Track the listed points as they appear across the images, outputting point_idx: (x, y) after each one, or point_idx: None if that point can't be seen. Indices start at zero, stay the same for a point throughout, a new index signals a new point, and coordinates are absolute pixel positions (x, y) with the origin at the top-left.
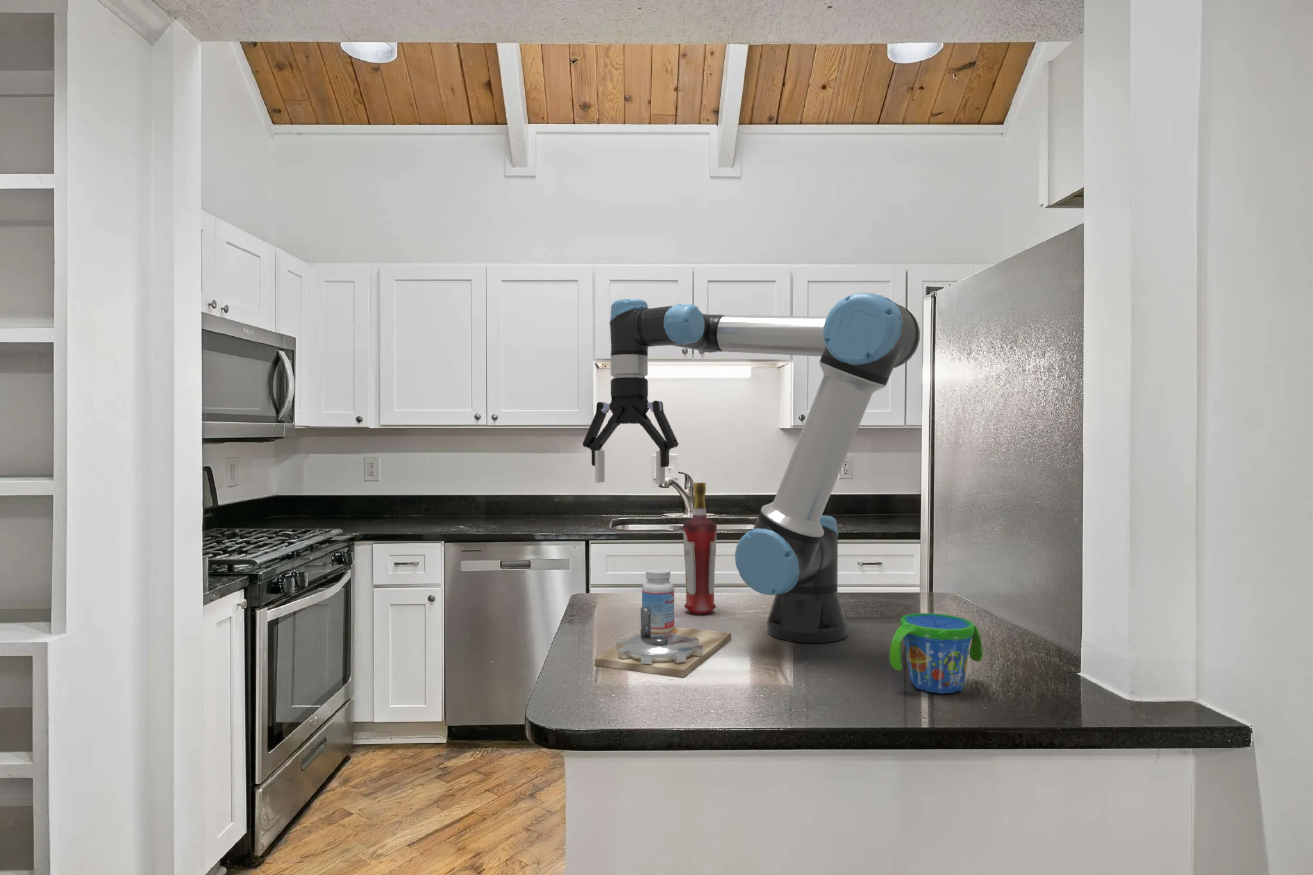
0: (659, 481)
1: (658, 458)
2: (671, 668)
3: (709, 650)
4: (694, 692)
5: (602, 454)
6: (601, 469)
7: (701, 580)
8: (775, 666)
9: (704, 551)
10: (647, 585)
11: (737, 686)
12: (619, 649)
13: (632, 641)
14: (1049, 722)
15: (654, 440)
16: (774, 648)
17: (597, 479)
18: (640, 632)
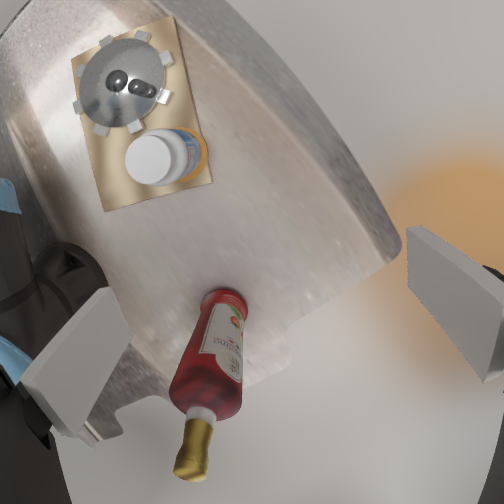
0: (94, 294)
1: (43, 351)
2: (82, 53)
3: (84, 132)
4: (52, 43)
5: (477, 344)
6: (435, 285)
7: (201, 318)
8: (32, 155)
9: (186, 349)
10: (160, 132)
11: (32, 83)
12: (144, 32)
13: (150, 63)
14: None
15: (9, 430)
16: (59, 209)
17: (417, 232)
18: (195, 131)
